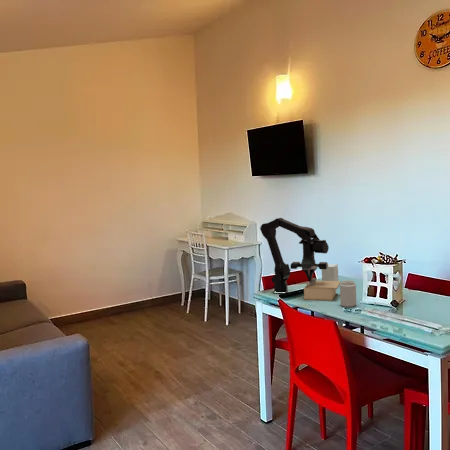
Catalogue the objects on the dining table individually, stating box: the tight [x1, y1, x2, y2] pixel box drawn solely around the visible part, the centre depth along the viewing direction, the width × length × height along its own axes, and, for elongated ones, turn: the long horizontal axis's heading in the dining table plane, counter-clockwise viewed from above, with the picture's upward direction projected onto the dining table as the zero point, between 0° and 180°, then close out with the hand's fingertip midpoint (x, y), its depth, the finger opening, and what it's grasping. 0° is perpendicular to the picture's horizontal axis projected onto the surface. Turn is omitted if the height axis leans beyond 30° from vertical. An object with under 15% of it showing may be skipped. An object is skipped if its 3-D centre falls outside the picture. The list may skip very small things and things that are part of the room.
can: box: [339, 279, 357, 308], centre depth 230 cm, size 8×8×12 cm
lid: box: [308, 277, 341, 290], centre depth 248 cm, size 14×14×3 cm
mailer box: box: [303, 282, 337, 302], centre depth 249 cm, size 14×14×6 cm
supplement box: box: [321, 263, 340, 281], centre depth 268 cm, size 7×7×13 cm
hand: (309, 281), depth 251 cm, fingers closed
